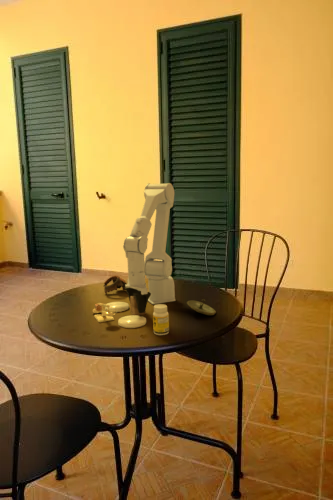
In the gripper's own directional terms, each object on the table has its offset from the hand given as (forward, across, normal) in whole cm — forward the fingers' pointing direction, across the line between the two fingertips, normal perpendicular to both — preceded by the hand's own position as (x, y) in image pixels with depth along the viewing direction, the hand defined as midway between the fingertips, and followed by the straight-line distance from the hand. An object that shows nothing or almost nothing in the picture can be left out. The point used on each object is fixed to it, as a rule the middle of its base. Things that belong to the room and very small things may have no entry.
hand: (137, 309), depth 141 cm
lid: (+2, +10, +19) cm, 22 cm away
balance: (+1, 0, -12) cm, 12 cm away
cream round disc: (+1, +8, -5) cm, 10 cm away
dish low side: (+1, -9, -5) cm, 10 cm away
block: (+2, 0, 0) cm, 2 cm away
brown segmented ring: (+2, -29, +2) cm, 29 cm away
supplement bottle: (+2, +20, 0) cm, 20 cm away
